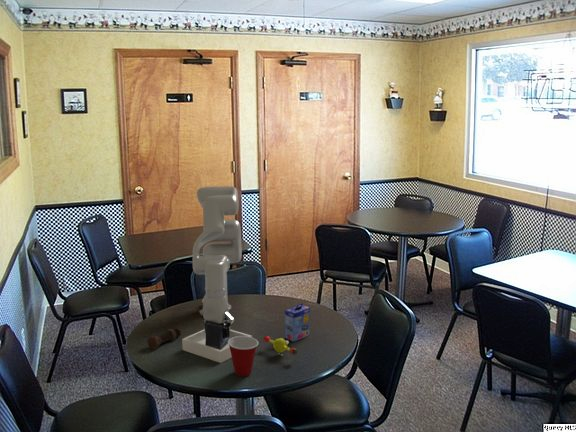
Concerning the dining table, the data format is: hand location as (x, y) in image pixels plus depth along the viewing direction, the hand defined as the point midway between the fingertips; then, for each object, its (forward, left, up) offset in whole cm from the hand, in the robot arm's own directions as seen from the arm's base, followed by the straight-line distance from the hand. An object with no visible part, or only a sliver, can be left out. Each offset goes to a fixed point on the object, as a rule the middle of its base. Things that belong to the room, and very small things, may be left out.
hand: (217, 334), depth 227 cm
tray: (0, 0, -6) cm, 6 cm away
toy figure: (+24, +9, -6) cm, 26 cm away
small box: (0, 0, -5) cm, 5 cm away
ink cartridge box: (+19, +27, -6) cm, 34 cm away
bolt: (-21, -8, -6) cm, 23 cm away
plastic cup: (+22, -10, -6) cm, 25 cm away
